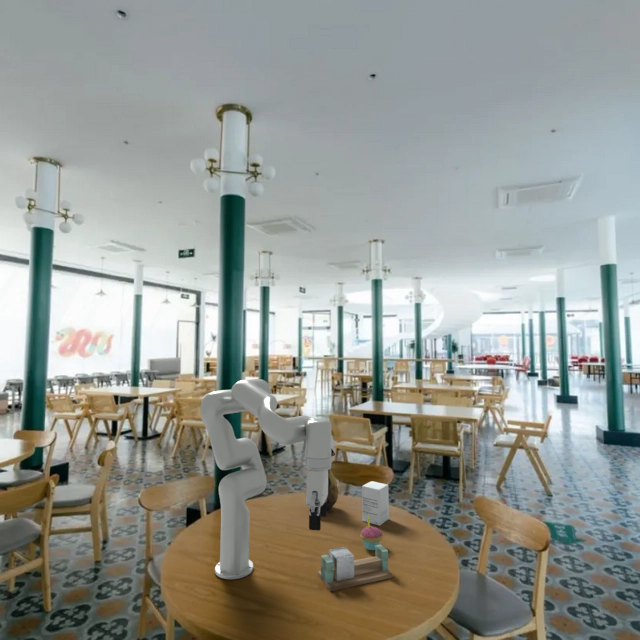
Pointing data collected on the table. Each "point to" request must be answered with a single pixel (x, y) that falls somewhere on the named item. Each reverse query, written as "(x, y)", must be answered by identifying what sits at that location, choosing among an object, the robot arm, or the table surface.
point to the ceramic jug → (331, 489)
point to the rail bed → (358, 581)
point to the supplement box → (375, 502)
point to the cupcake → (371, 536)
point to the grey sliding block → (342, 563)
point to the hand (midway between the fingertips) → (318, 522)
